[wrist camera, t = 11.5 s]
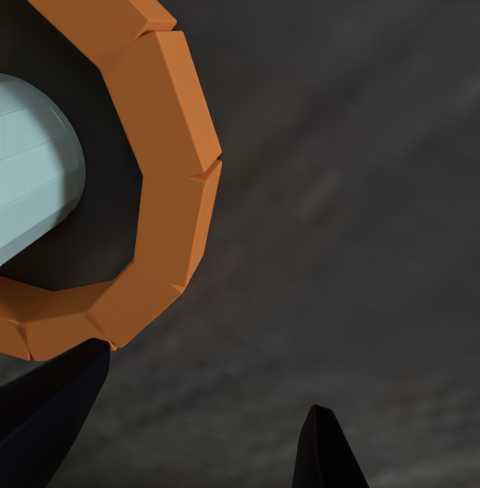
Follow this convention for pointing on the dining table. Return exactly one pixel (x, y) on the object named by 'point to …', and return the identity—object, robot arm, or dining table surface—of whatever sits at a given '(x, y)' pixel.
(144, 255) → the ring
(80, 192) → the cup
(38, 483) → the robot arm
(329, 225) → the dining table surface
